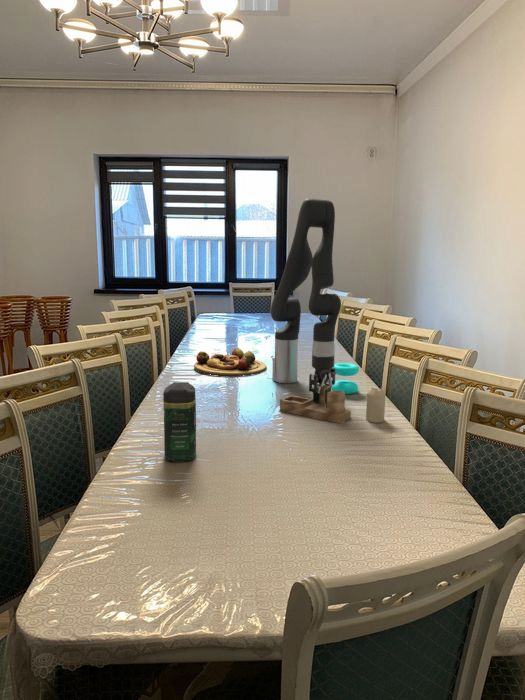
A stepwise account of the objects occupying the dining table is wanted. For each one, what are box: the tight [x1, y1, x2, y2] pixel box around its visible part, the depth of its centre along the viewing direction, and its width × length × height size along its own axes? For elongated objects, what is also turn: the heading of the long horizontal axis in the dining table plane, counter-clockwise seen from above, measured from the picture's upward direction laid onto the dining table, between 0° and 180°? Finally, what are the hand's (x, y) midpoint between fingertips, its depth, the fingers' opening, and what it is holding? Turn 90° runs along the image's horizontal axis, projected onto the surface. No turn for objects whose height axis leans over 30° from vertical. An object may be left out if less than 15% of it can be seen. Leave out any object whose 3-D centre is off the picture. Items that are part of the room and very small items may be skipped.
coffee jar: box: [162, 381, 197, 463], centre depth 129 cm, size 10×8×19 cm
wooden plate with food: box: [193, 346, 267, 377], centre depth 228 cm, size 32×32×8 cm
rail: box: [279, 389, 352, 424], centre depth 164 cm, size 22×7×8 cm, turn 54°
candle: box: [365, 387, 386, 424], centre depth 158 cm, size 6×6×10 cm
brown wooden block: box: [317, 384, 332, 405], centre depth 176 cm, size 5×4×6 cm
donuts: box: [331, 362, 360, 395], centre depth 191 cm, size 10×10×10 cm
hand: (321, 400), depth 176 cm, fingers open, 7 cm apart
